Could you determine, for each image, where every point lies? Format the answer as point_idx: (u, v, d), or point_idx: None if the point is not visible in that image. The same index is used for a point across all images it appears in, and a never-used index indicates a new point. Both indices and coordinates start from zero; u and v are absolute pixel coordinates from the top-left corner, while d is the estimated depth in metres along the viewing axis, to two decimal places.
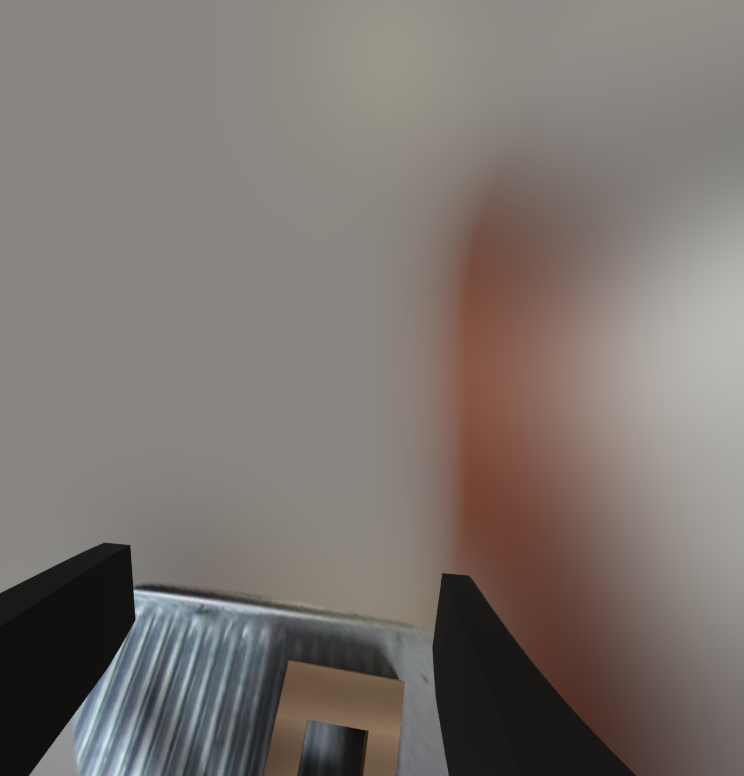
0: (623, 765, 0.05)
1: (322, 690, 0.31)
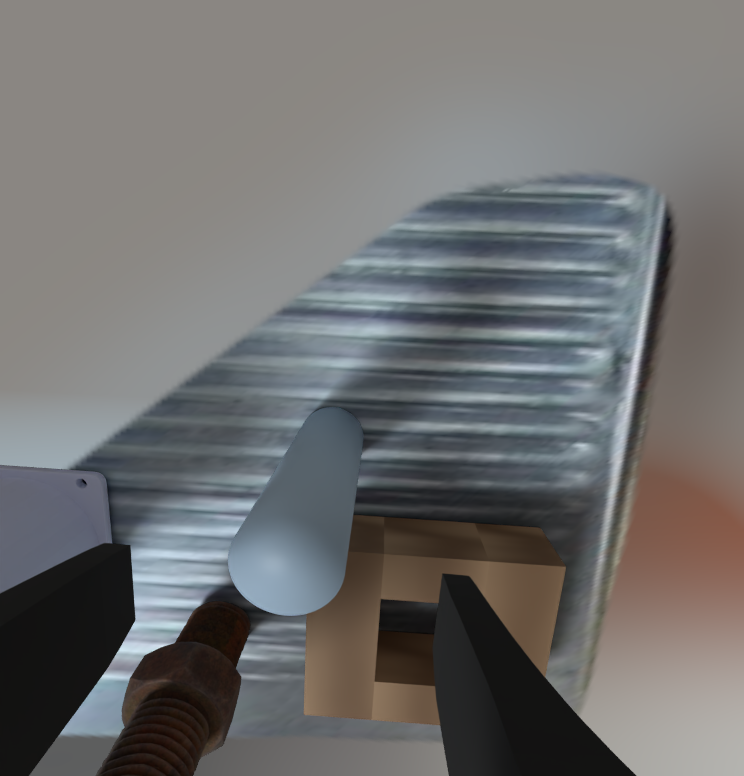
0: (623, 765, 0.05)
1: (522, 623, 0.18)
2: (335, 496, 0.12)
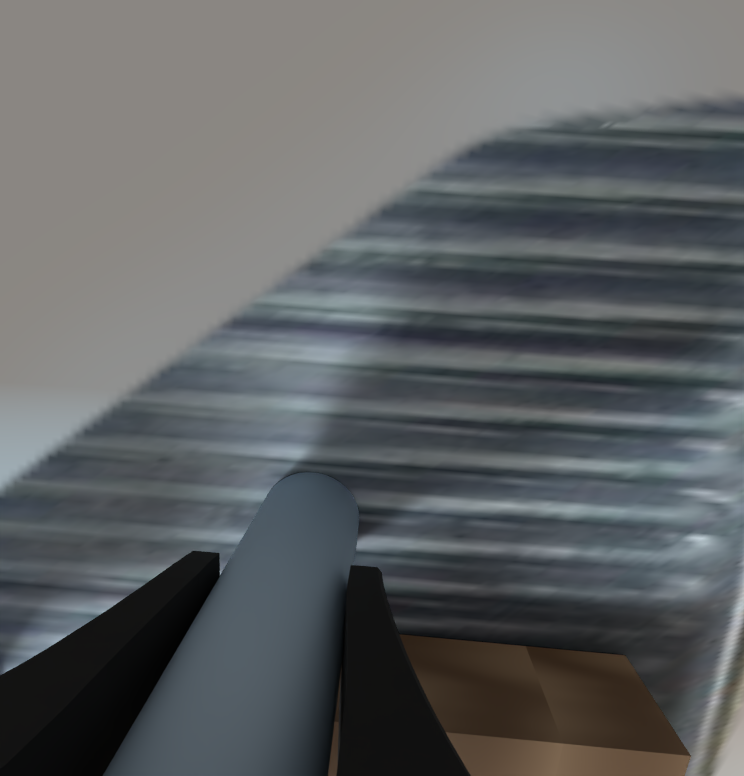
0: (448, 747, 0.05)
1: None
2: None
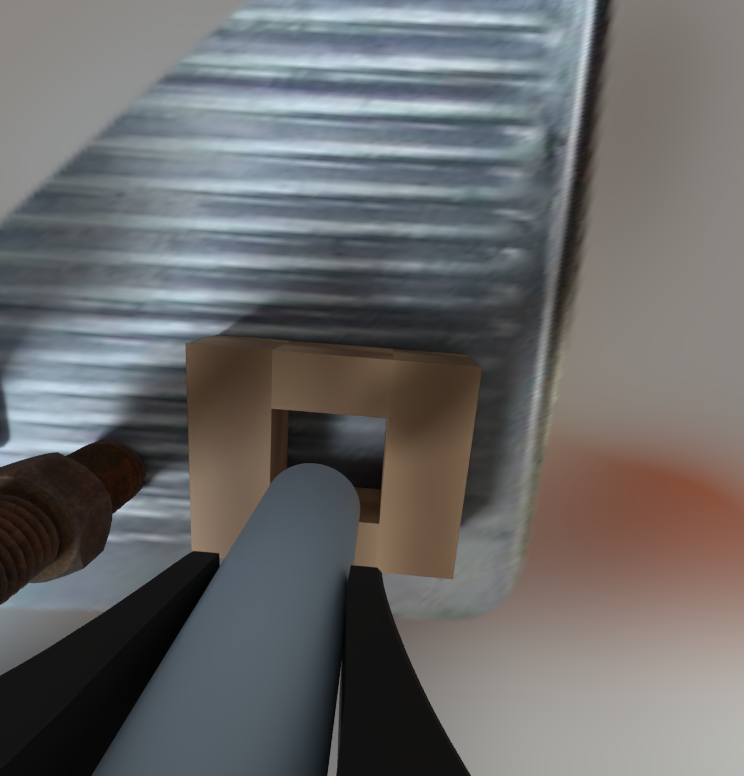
0: (448, 748, 0.05)
1: (434, 440, 0.16)
2: (275, 748, 0.05)
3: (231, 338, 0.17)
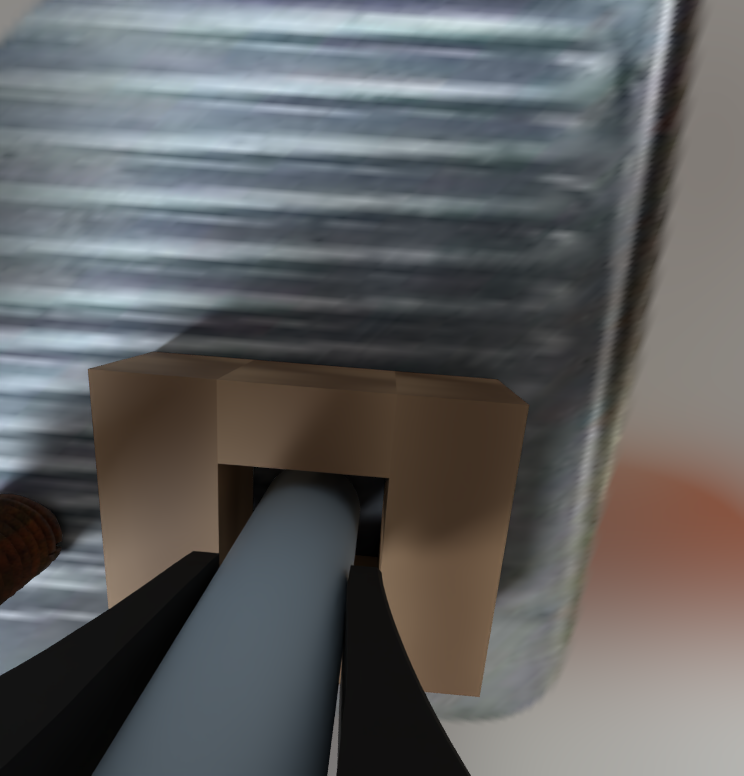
0: (448, 748, 0.05)
1: (456, 509, 0.11)
2: (275, 748, 0.05)
3: (169, 357, 0.12)
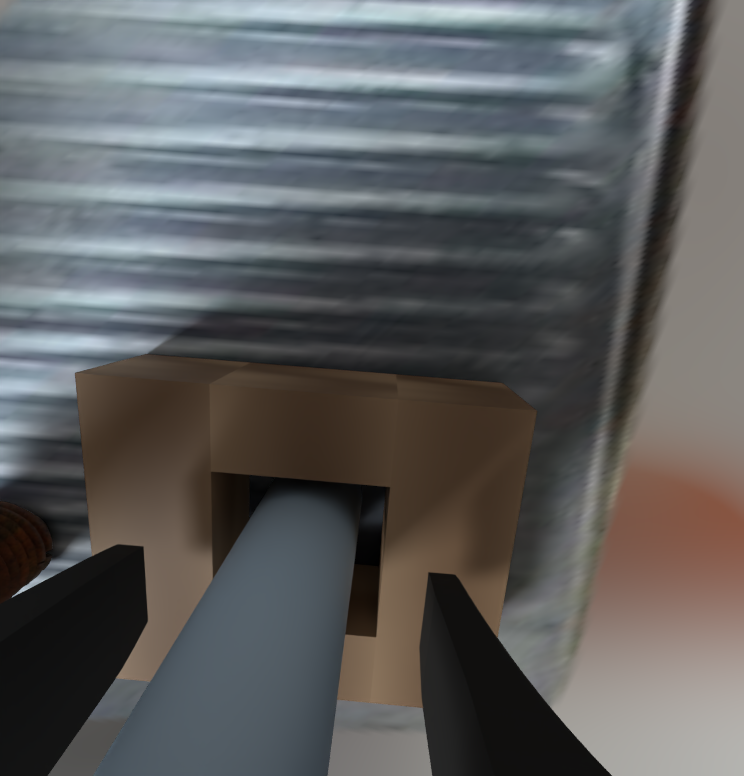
0: (596, 762, 0.05)
1: (460, 519, 0.10)
2: (291, 689, 0.06)
3: (161, 360, 0.12)
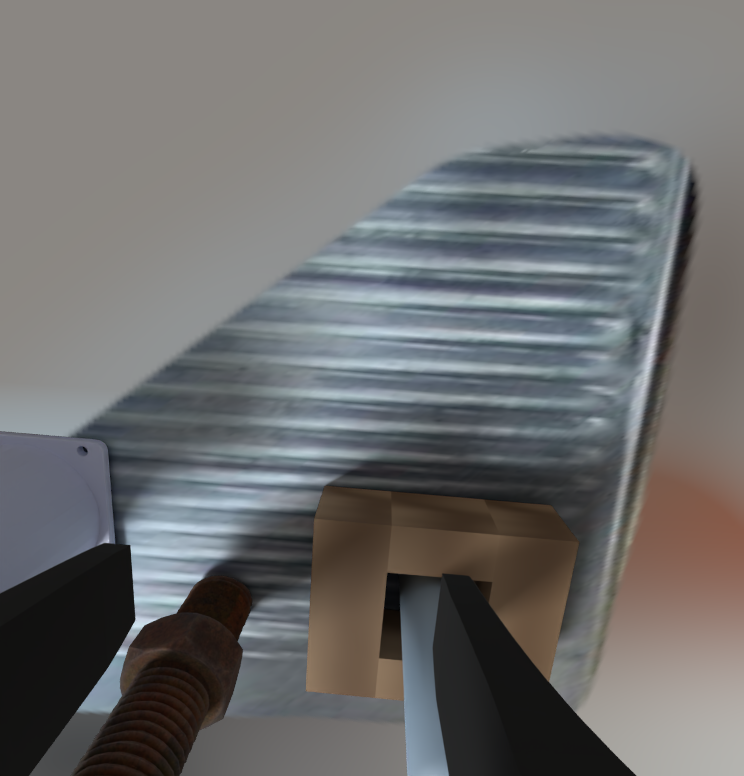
0: (623, 765, 0.05)
1: (532, 600, 0.18)
2: None
3: (341, 494, 0.19)
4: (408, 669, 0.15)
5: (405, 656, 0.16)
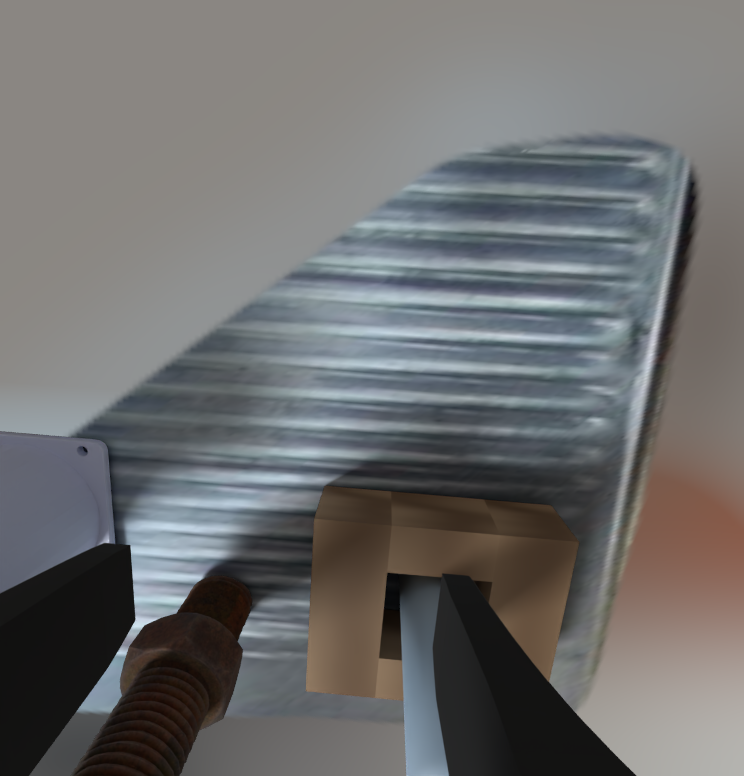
0: (623, 765, 0.05)
1: (532, 600, 0.18)
2: None
3: (341, 494, 0.19)
4: (408, 670, 0.15)
5: (405, 657, 0.16)
